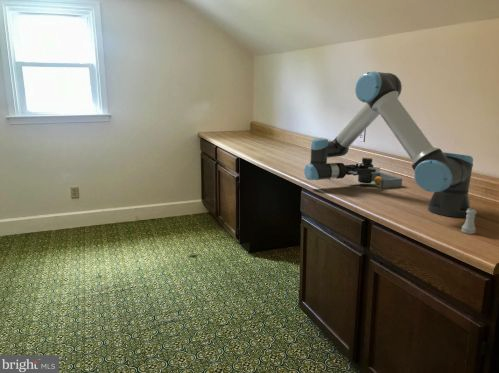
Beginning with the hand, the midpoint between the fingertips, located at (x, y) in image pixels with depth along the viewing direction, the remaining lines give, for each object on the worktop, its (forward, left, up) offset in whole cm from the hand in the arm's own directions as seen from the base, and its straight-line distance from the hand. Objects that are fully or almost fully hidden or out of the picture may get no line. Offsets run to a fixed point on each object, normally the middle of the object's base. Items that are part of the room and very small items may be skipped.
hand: (374, 168), depth 205 cm
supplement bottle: (-4, +4, -7) cm, 8 cm away
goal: (+3, -3, -8) cm, 9 cm away
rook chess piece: (-60, -38, -8) cm, 72 cm away
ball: (+1, -3, -8) cm, 8 cm away
